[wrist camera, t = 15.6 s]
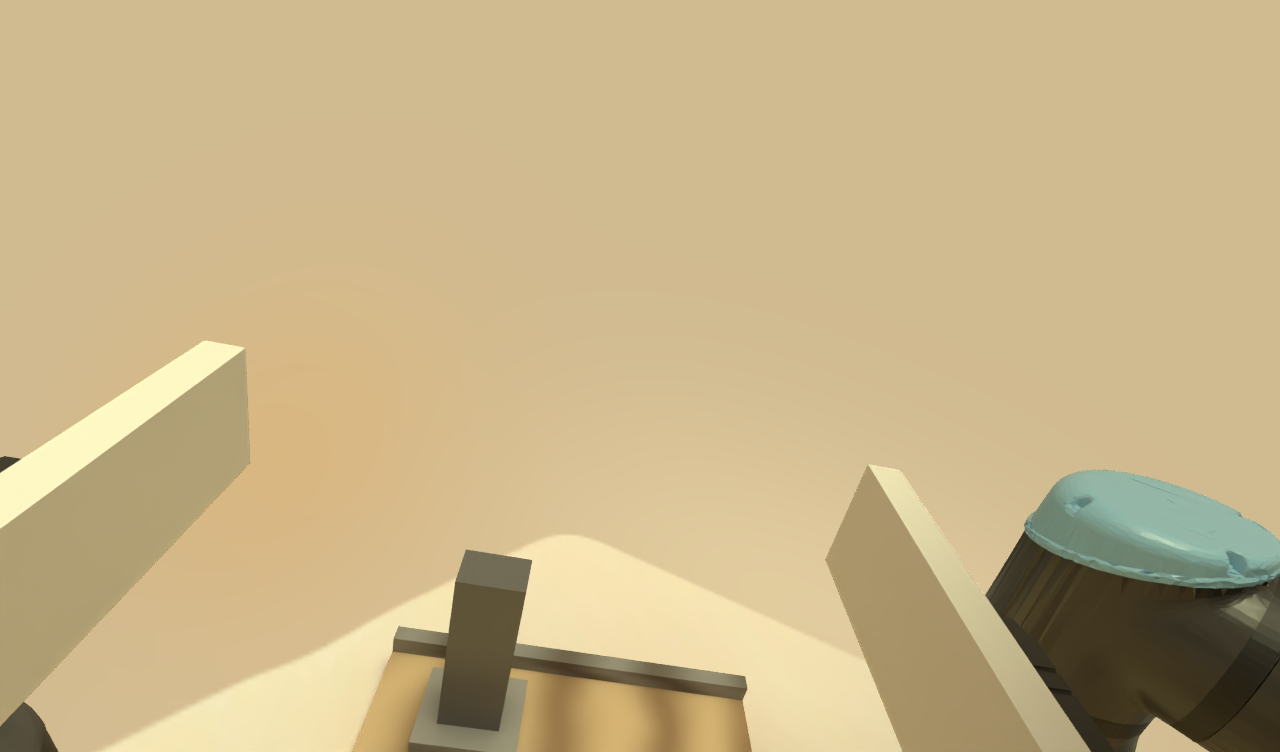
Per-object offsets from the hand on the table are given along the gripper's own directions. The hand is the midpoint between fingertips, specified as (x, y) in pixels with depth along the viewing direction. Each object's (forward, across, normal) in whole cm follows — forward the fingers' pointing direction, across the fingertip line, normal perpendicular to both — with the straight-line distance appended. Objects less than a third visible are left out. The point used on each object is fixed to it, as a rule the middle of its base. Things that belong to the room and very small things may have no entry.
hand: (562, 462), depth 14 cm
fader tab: (+15, -2, -29) cm, 33 cm away
